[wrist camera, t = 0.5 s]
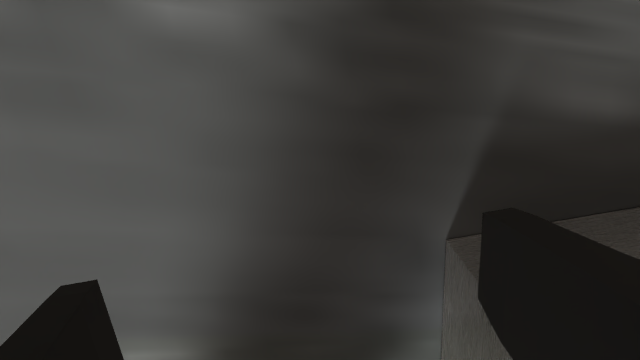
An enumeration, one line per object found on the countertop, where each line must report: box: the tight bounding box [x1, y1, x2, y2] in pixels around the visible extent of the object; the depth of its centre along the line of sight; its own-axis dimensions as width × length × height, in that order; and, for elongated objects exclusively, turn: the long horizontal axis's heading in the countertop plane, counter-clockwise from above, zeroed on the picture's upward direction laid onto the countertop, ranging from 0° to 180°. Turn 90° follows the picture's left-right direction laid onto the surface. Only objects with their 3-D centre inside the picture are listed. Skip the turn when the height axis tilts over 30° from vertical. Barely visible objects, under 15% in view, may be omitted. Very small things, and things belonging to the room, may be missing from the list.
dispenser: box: [441, 207, 640, 360], centre depth 22 cm, size 9×13×7 cm
